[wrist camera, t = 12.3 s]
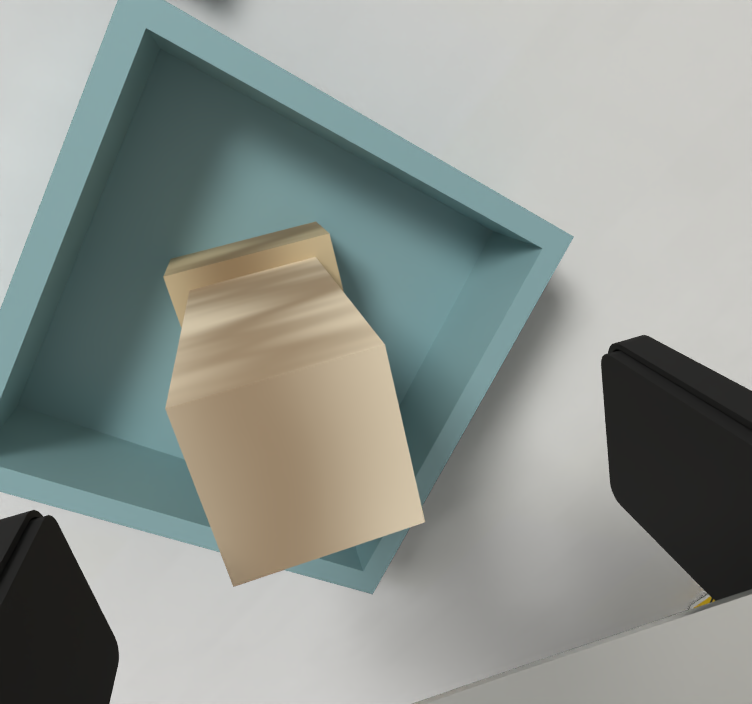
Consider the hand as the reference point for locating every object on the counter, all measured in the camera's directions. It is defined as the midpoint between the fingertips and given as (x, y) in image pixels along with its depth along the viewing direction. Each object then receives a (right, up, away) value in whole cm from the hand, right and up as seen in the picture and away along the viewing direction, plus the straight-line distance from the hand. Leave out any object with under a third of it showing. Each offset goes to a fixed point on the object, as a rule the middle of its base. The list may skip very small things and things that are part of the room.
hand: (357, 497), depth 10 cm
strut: (-4, +4, +12) cm, 14 cm away
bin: (-4, +4, +13) cm, 15 cm away
